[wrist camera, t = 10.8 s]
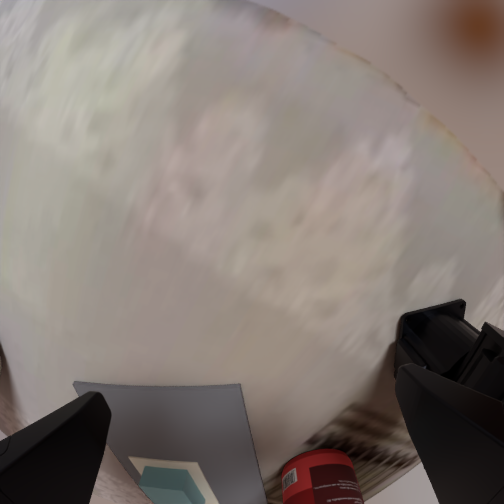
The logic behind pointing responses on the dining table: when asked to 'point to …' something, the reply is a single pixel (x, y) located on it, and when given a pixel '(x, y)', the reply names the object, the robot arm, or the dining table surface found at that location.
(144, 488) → the block
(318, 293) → the dining table surface
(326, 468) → the canned food
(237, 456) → the mat
